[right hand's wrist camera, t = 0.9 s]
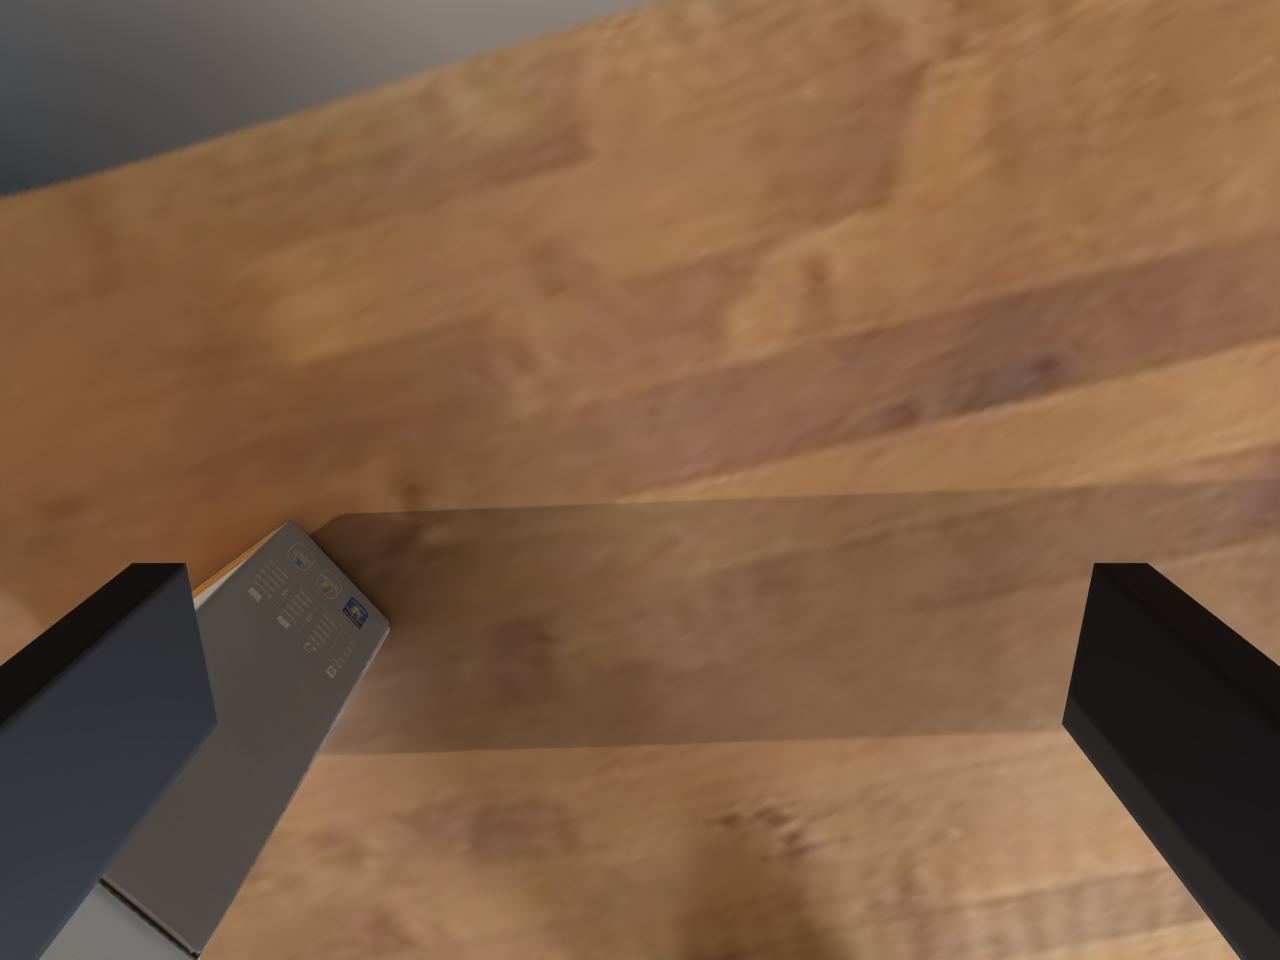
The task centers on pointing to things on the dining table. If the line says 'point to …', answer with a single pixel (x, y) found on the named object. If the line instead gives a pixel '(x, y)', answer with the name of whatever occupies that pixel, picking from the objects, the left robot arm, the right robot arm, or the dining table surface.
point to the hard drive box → (235, 749)
